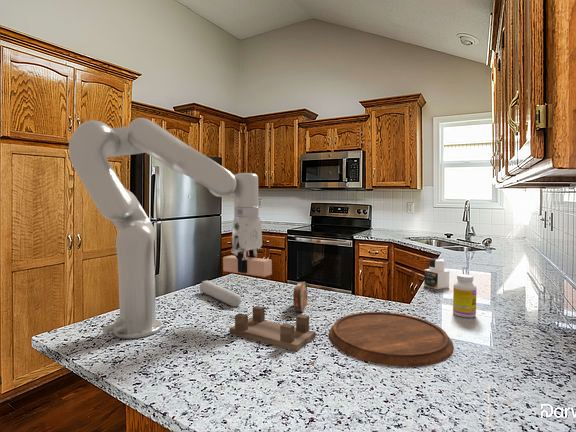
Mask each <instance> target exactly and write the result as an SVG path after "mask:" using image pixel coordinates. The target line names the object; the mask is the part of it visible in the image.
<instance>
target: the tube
mask: <svg viewBox="0 0 576 432" xmlns="http://www.w3.org/2000/svg"><path fill="white" fill-rule="evenodd" d="M199 291H200V292H201V293H203V294H206V295H208V296H210V297H212V298H215V299H216V300H218V301H220V302H223V303H224V304H226V305H229V306H230V307H233V308H235V307H239V306H240V305H241V303H242V296H241V295H240V294H239V293H237V292H234V291H232V290H231V289H227V288H225V287H223V286H220V285H218V284H215V283H213V282H211V281H210V280H202V282H201V283H200V285H199Z"/></svg>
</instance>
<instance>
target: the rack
mask: <svg viewBox="0 0 576 432" xmlns="http://www.w3.org/2000/svg"><path fill="white" fill-rule="evenodd" d="M265 309H266V308H265V307H264V306H260V305H255V306H253V307H252V317H250V318H249V315H248V314H244V313H240V312H239V313H237V314H235V315H234V325H233V326H231V327H229V334H231V335H234V336H239V337H242V338H244V339H245V338H246V339H249V340H254V341H257V342H261V343H265V344H269V345H272V346H276V347H280V348H284V349H287V350H290V351H291V350H292V351H294V352H298V351H299V350H301V349H302V348H304V347H305V346H306V345H307V344H309V343H310V342H311V341H313V340H314V339H315V338H316V337H317V336H316V331H314V330H310V315H304V314H301V313H300V314H298V315H296V316H295V325H294V324H290V323H286V322H285V323H284V322H283V323H278V322H273V321H268V320H265V319H266V318H265V317H266V310H265Z"/></svg>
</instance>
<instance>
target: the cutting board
mask: <svg viewBox="0 0 576 432" xmlns="http://www.w3.org/2000/svg"><path fill="white" fill-rule="evenodd" d="M328 336H329V337H328V338H329V340H330V342H331V343H332V345H334V346H335V347H336V348H337V349H338V350H339V351H341V352H344V353H345V354H347V355H348V356H350V357H353V358H356V359H359V360H363V361H366V362H369V363H372V364H374V363H375V364H378V365H384V366H390V367H393V366H394V367H409V368H410V367H412V368H413V367H423V366H430V365H434V364H437V363H441V362H443V361H445V360H447V359H448V358H450V357H451V355H453V353H454V347H455V346H454V343H453V341H452V339H451V338H450V336H449V335H448V334H447V332H446V330H444V329H443V328H442V327H440V326H438V325H436V324H434V323H433V322H430V321H428V320H425V319H422V318H419V317H416V316H412V315H407V314H402V313H396V312H384V311H383V312H382V311H366V312H365V311H364V312H357V313H352V314H347V315H344V316H342V317H341V318H338V319H337V320H336V321H335V322H334V324H333V325H332V326H331V328H330V329H329V331H328Z"/></svg>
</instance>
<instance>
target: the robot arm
mask: <svg viewBox="0 0 576 432" xmlns="http://www.w3.org/2000/svg"><path fill="white" fill-rule="evenodd" d="M144 153H146V154H147V155H149V156H150V157H152V158H154V159H155V160H156V161H157V162H160V163H161V164H163V165H164V166H165V167H167V168H168V169H171V170H172V171H174V172H176V173H178V174H182V175H185V176H186V177H189V178H190V179H192V180H194V181H195V182H197V183H199V184H200V185H202V186H203V187H205V188H207V189H208V191H209V192H210V194H212V195H213V196H215V197H216V198H217V197H218V198H225V197H230V196H233V202H234V203H233V206H234V207H233V208H234V209H233V211H234V212H233V213H234V214H233V216H234V218H233V221H232V222H233V223H232V232H231V241H232V242H231V244H232V247H231V249H230V253H232V254H233V256H236V259H237V260H238V272H240V273H239V274H241V273H247V260H245V259H246V257H252V258H258V253H259V250H260V249H261V248H262V247H263V233H262V223H261V218H260V216H259V212H260V211H259V177H258V175H257V174H256V173H252V172H239V173H236V174H233V173H232V172H231V171H230V170H228V169H227V168H225V167H224V166H222V165H220V164H219V163H218V162H216V161H215V160H213V159H212V158H211V157H209V156H207V155H205V154H203V153H201V152H200V151H198V150H197V149H195V148H193V147H192V146H190V145H188V144H187V143H185V142H184V141H182V140H181V139H180V138H178V137H177V136H174V135H173V134H172V133H170V132H169V131H167V130H166V129H165V128H163V127H161V126H160V125H158V124H157V123H156V122H154V121H152V120H151V119H148V118H145V117H137V118H135V119H133V120H132V121H131V122H130V123H129V124H128V126H122V127H120V126H119V127H110V125H108V124H106V123H105V122H103V121H100V120H94V119H92V120H91V119H90V120H87V121H86V120H85V121H84V122H82V123H81V124H79V125H78V126H77V127H76V128H75V130H74V131H73V132H72V135H71V136H70V139H69V143H68V155H69V158H70V163H71V165H72V168H73V169H74V170H75V173H76V175H77V176H78V178H79V179H80V182H82V184H83V187H84V188H85V191H87V193H88V194H89V196H90V198H91V199H92V201H93V203H94V204H95V206H96V208H97V210H98V212H99V213H100V214H101V216H102V217H104V218H105V219H107V220H109V221H111V222H112V224H113V226H115V228H116V230H117V231H118V232H117V234H116V237H115V248H116V258H117V269H118V270H117V273H118V275H117V276H118V296H119V297H118V298H119V300H118V301H119V317H116V318H115V321H114V322H113V323H112V324H108V325H105V326H104V325H103V326H102V329H101V330H102V333H103V334H104V335H105V334H109V333H111V332H112V333H113V334H114V336H115V337H117V338H120V339H138V338H144V337H148V336H151V335H154V334H156V333H157V332H159V331H160V330H161V329H162V326H163V325H162V322H161V321H160V320H158V319H157V314H156V313H157V312H156V311H157V309H156V305H157V304H156V275H155V272H156V270H155V250H154V249H155V239H156V236H157V235H156V233H157V232H156V228H155V226H154V225H153V223H152V221H151V219H150V217H148V215H147V213H146V211H145V210H144V208H143V206H142V205H141V203H140V201H139V200H138V199H137V197H136V195H135V194H134V193H133V192H131V191H130V190H129V189H126V188H125V186H124V185H123V183H122V181H121V180H120V179H119V177H118V175H117V174H116V171H115V170H114V168H113V167H112V165H111V163H110V162H109V160H108V158H113V157H123V156H131V155H140V154H144Z"/></svg>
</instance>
